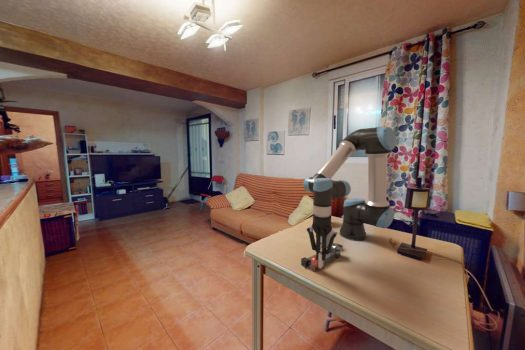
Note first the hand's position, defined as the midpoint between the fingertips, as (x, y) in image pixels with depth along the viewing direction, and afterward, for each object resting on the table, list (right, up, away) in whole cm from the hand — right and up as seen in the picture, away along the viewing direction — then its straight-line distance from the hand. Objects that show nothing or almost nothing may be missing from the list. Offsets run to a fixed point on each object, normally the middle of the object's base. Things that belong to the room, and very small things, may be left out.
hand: (320, 266), depth 87 cm
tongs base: (+3, -1, +8) cm, 9 cm away
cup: (+9, +1, +23) cm, 25 cm away
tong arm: (+5, -1, +7) cm, 9 cm away
